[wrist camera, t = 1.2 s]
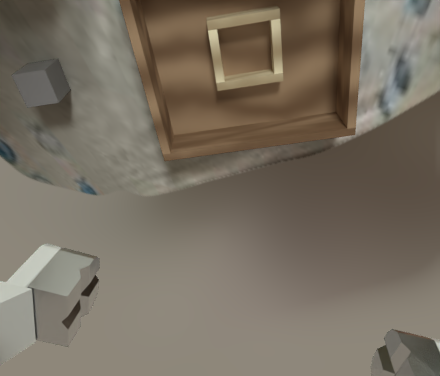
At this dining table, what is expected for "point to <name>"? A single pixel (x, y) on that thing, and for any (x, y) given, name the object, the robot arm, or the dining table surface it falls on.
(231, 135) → the walled box
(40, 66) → the plain grey cube
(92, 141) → the dining table surface
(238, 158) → the dining table surface
